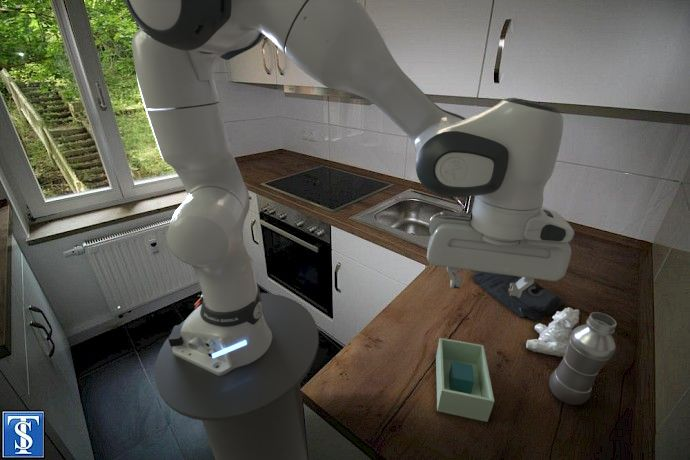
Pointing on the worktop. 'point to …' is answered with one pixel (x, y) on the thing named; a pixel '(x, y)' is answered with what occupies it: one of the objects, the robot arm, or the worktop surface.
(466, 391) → the block
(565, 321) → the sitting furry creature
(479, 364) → the bin
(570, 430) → the worktop surface
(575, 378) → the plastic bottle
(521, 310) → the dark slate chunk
